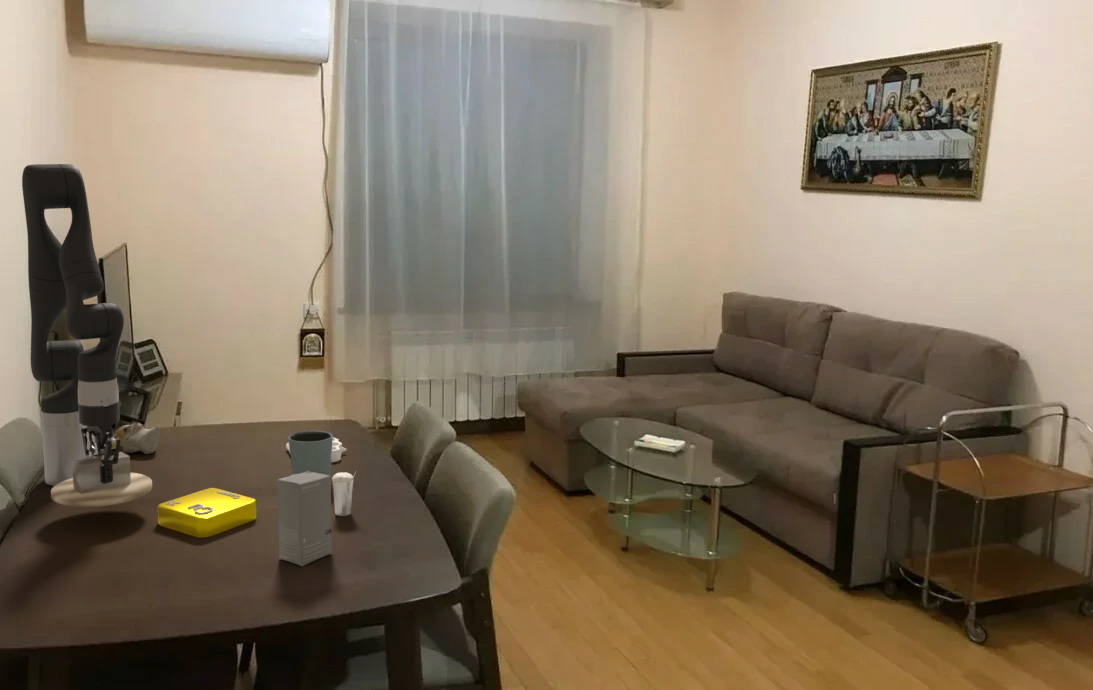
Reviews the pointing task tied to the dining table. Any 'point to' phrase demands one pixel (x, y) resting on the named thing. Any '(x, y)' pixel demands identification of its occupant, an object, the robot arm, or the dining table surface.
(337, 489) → the milkshake
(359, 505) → the dining table surface
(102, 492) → the lid
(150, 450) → the ceramic sculpture
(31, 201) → the robot arm
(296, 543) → the skincare box
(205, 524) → the element tile
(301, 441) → the blue-grey pot
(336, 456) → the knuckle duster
